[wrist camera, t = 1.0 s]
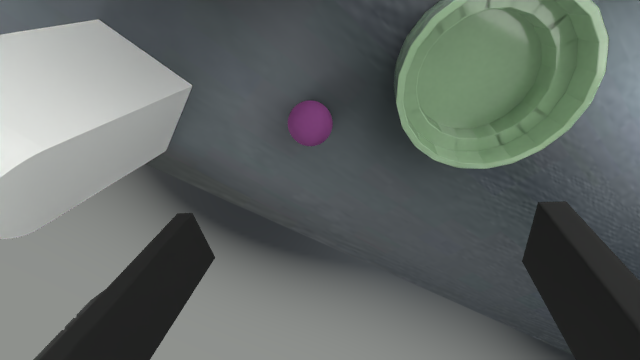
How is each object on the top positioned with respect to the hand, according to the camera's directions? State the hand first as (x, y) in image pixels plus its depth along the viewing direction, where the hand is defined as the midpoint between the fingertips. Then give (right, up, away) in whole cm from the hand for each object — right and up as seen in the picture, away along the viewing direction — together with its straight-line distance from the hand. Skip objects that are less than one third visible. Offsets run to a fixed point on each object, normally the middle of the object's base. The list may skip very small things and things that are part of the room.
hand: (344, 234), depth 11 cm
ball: (-2, +10, +22) cm, 24 cm away
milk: (-25, +14, +25) cm, 38 cm away
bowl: (+14, +13, +17) cm, 26 cm away
